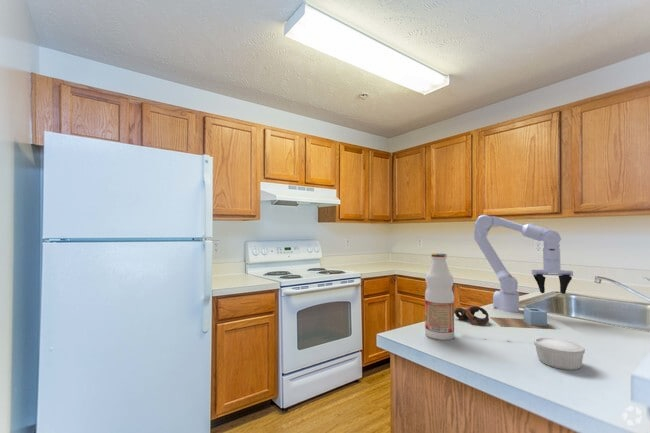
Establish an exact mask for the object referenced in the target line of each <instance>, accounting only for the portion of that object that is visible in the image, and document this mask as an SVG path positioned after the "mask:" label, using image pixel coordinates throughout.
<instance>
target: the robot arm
mask: <svg viewBox="0 0 650 433" xmlns="http://www.w3.org/2000/svg"><path fill="white" fill-rule="evenodd" d="M492 227H494V228H495V227H496V228H497V227H504V228H507V229H509V230H514V231H518V232H520V233H521V234H522V236H523V237H525V238H529V239H531V240H532V239H533V240H535V241H538V242H541V241H543V249H542V252H543V255H542V258H543V259H542V260H543V261H542V262H543V269H531V275H533V278H534V281H536V283H537V286H538V288H539V293H541V294H545V291H546V289H545V282H546V276H558V279H559V290H560V294H562V295H566V293H567V288H568V286H569V284H570V282H571V281H572V280H573V279H572V278H573V277H574V271H573V270H565V269H561V267H562V266H561V248H560V246H561V245H560V243H561V241H562V237H561V235H560V233H559V232H558V231H556V230H552V229H549V227H545V228H544V227H541V226H538V225H536V223H534V222H532V223H530V222H529V223H526V224H524V225H523V224H520V223H518V222H516V221H512V220H509V219H507V218H502V217H499V216H493V215H487V214H481V215H479V216H478V217H477V219H476V220H475V223H474V231H473V234H474V235H473V239H474V241H475V243H476V244H477V245H478V247H479V249H480V250H481V252H482V253H483V255H484V257H485V259H486V260H487V261H488V263H489V265H490V267H491V268H492V270H493V271H494V273H495V275H496V277H497V279H498V282H499V283H500V285H499V286H500V289H499V290H495V291H494V293H493V295H492V300H493V301H492V304H493V305H492V306H493V307H492V308H493V310H499V311H502V312H509V313H519V312H520V292H519V291H518V284H519V282H518V280H517V278H516V277H514V276H512V274H511V273H510V272H509V271H508V270H507V267H506V266H505V265H504V263H503V262H502V260H501V259H500V257H499V255H498V254H497V252H496V251H495V249H494V247H493V246H492V244H491V243H490V241H489V240H488V234H489V231H490V230H491V229H492Z"/></svg>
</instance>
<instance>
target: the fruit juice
mask: <svg viewBox="0 0 650 433" xmlns="http://www.w3.org/2000/svg"><path fill="white" fill-rule="evenodd" d="M447 256H448V255H447V253H443V252H433V253H431V258H432V260H431V264H430V267H429V269H428V272H427V273H426V274H425V279H424V280H425V284H426V289H425V292H424V327H425V328H424V331H425V335H426V336H427V337H428V338H431V339H435V340H441V341H447V340H452V339H454V337H455V312H454V311H455V294H454V292H453V285H454V277H453V274H452V273H451V271H450V269H449V267H448V263H447Z"/></svg>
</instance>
